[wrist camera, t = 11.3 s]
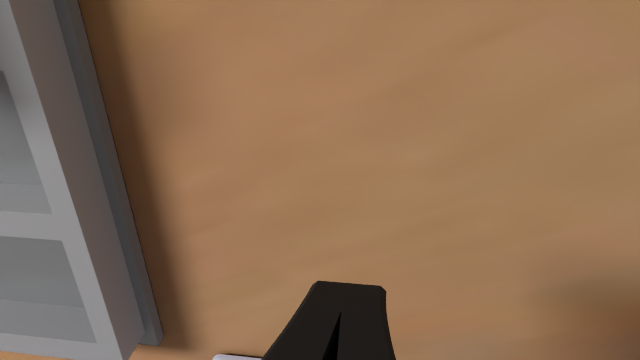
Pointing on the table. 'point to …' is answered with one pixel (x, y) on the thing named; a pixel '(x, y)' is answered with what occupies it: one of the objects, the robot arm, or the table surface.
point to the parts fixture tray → (63, 199)
